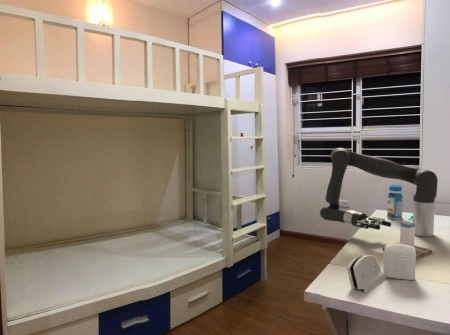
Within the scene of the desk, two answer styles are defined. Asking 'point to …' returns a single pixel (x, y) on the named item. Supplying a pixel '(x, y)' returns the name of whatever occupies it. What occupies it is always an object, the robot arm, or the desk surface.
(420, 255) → the pad
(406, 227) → the cartridge
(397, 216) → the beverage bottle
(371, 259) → the white black curved block
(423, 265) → the desk surface
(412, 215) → the handheld game console
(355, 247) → the desk surface
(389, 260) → the photo printer
